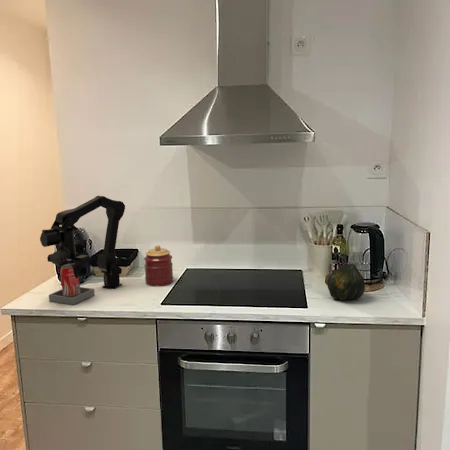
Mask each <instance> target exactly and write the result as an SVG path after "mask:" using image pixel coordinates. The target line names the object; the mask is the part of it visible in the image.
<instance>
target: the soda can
mask: <svg viewBox="0 0 450 450" xmlns="http://www.w3.org/2000/svg"><path fill="white" fill-rule="evenodd" d="M72 264H73V263H68V264H65V265H62V266H61V270H60V269H59V272H60V273H59V274H60V282H61V289H62V291H63V295H64V296H65V297H75V296H77V295H79V294H80V287H81V285H80V275H79V276H78V278H75V275H74V270H73V267H72V266H71V265H72Z"/></svg>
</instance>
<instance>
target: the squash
mask: <svg viewBox="0 0 450 450" xmlns="http://www.w3.org/2000/svg"><path fill="white" fill-rule="evenodd" d="M365 287H366V283H365V280H364V277H363V275H362V273H361V272H360V271H359V269H358V268H357V266H356V265H355V263H348V264H345V265H342V266H341V267H339V268H337V269H336V270H333V271H332V272H331V273H330V274H329V276H328V278H327V289H328V292H329V295H330V296H331V298H333V299H334V300H339V301H345V300H354V299H359V298H361V297H362V296H363V295H364V293H365Z"/></svg>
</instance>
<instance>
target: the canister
mask: <svg viewBox="0 0 450 450" xmlns="http://www.w3.org/2000/svg"><path fill="white" fill-rule="evenodd" d="M145 255H146V256H145V257H143V260H144V263H145V264H144V273H145V277H144V279H145V283H146V285H148V286H153V287H160V286H161V287H163V286H167V285H171V284H172V283H173V282H174V273H173V271H174V270H173V262H172V259H173V255H171V251H170V250H168V249H167V248H164V247H163V248H162V247H161V246H160V245H159V244H156V245H155V246H154V248H151V249H148V251H146V252H145Z"/></svg>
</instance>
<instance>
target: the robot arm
mask: <svg viewBox="0 0 450 450" xmlns="http://www.w3.org/2000/svg"><path fill="white" fill-rule="evenodd" d="M100 207H101V208H104V209H105V215H106V217H107V225H106V231H105V239H104V245H103V246H104V247H103V251H102V252H101V254H97V261H96V264H97V267H98V269H99V270H100V272H101V274H103V285H102V288H105V289H110V290H111V289H113V290H114V289H117V288H119V287H120V286H122V285H123V283H121V282H120V275H121V274H122V272H123V269H122V268H121V267H120V266H119V265H118V264H117V262H118V261H117V255H116V244H117V237H118V232H119V231H118V230H119V224H120V221H121V219H122V218H123V216H124V213H125V210H126V205H125V203H124V202H123V201H121V200H114V199H111V198H108V197H106V196H104V195H96V196H94V198H91V199H90V200H88V201H86V202H83V203H82V204H80V205H78V206H75V208H70V209H66V210H62V211H59V212H58V213H56V214H55V220H54V222H53V223H52V225H51V227H50V228H49V229H41V234H40V237H39V241H40V243H41V245H42V247H44V248H47V247H50V246H57V245H58V246H57V250H55V251H54V252H53V253H50V254H48V255H47V257H46V258H47V263H48V262H50V263H52V264H54V265H56V266H57V267H58V269H59V271H60V270H61V266H62V265H65V264H69V263H68V262H73V263H71V264H72V265H71V266H72V267H73V270H74V275H75V278H78V276H79V277H80V272H81V270H82V268H83V266H84V265H86V264H89V263H91V261H92V259H91V256H90V255H87V254H86V255H85V254H81V255H78V254H79V253H78V252H76V247H78V243H76V242H75V235H74V234H75V232H74V231H79V228H78V227H77V226H75V224H76V223H77V222H79V220H80V219H81V218H82V217H84V216H86V215H88V214H89V213H91V212H93V211H95V210H96V209H99V208H100Z"/></svg>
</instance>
